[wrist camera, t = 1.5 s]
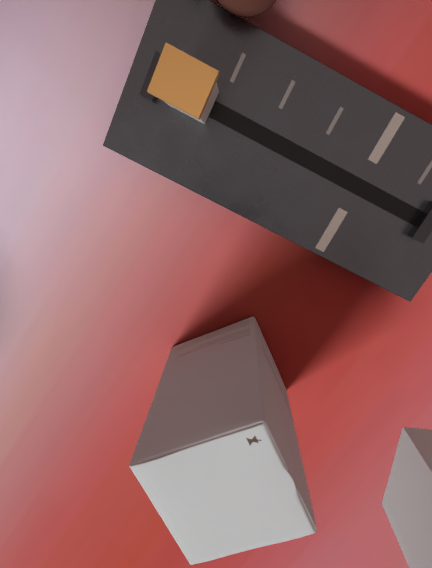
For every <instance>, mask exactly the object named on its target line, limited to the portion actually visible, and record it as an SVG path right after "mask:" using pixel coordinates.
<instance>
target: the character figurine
mask: <svg viewBox="0 0 432 568" xmlns="http://www.w3.org/2000/svg"><path fill="white" fill-rule="evenodd" d="M275 1H276V0H218V2H219V3H220V4H221V5H222V6H223V7H224V8H225V9H226V10H227V11H229V12H230V13H232V14H235V15H237V16H242V17H250V16H255V15H258V14H260V13H262V12H264V11H265V10H267V9H268V8H269V7H271V6H272V5H273V3H274V2H275Z"/></svg>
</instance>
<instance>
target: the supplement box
mask: <svg viewBox="0 0 432 568" xmlns="http://www.w3.org/2000/svg"><path fill="white" fill-rule="evenodd" d="M129 467H130V468H131V470H132V471H133V473H134V474H135V476H136V477H137V479H138V481H139V482H140V484H141V485H142V487H143V489H144V490H145V492H146V494H147V495H148V497H149V498H150V500H151V502H152V503H153V505H154V507H155V508H156V510H157V511H158V513H159V515H160V516H161V518H162V519H163V521H164V523H165V524H166V526H167V527H168V529H169V531H170V532H171V534H172V536H173V537H174V539H175V540H176V542H177V544H178V545H179V547H180V548H181V550H182V552H183V553H184V555H185V557H186V558H187V560H188V562H189V563H190V565H193V564H197V563H201V562H206V561H210V560H214V559H218V558H221V557H225V556H228V555H231V554H235V553H239V552H243V551H247V550H250V549H254V548H259V547H263V546H267V545H271V544H276V543H280V542H284V541H288V540H292V539H296V538H300V537H303V536H307V535H310V534H313V533H315V532H316V531H317V528H316V523H315V518H314V513H313V508H312V504H311V499H310V495H309V490H308V486H307V481H306V477H305V472H304V468H303V463H302V459H301V454H300V449H299V445H298V440H297V436H296V431H295V427H294V422H293V418H292V413H291V409H290V404H289V399H288V395H287V391H286V387H285V385H284V383H283V380H282V378H281V376H280V373H279V371H278V369H277V366H276V364H275V362H274V360H273V357H272V355H271V353H270V350H269V348H268V346H267V344H266V341H265V339H264V337H263V334H262V332H261V330H260V328H259V325H258V323H257V321H256V319H255V317H250V318H247V319H245V320H242V321H239V322H237V323H234V324H231V325H229V326H226V327H224V328H221V329H218V330H216V331H213V332H210V333H208V334H205V335H202V336H200V337H197V338H194V339H192V340H189V341H186V342H184V343H181V344H179V345H176V346H174V347H172V349H171V351H170V354H169V357H168V360H167V362H166V365H165V368H164V371H163V374H162V377H161V379H160V382H159V385H158V388H157V390H156V393H155V396H154V399H153V402H152V405H151V407H150V410H149V413H148V416H147V418H146V421H145V424H144V426H143V429H142V432H141V435H140V437H139V440H138V443H137V446H136V449H135V452H134V454H133V457H132V460H131V462H130V465H129Z"/></svg>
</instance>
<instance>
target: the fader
mask: <svg viewBox="0 0 432 568" xmlns="http://www.w3.org/2000/svg"><path fill="white" fill-rule="evenodd" d="M219 75H220V74H219V71H218V70H216V69H214V68H212V67H211V66H209V65H207V64H205V63H203V62H201V61H199V60H198V59H196V58H194V57H192V56H190V55H188V54H187V53H185V52H183V51H181V50H179V49H177V48H176V47H174V46H172V45H170V44H168V43H165V45H164V48H163V51H162V53H161V56H160V58H159V61H158V64H157V66H156V69H155V71H154V74H153V77H152V79H151V82H150V84H149V87H148V90H147V92H148V93H149V94H151V95H153V96H155V97H157V98H159V99H161V100H162V101H164V102H165V103H167V104H168V105H169V106H171V107H173V108H175V109H177V110H179V111H180V112H182V113H184V114H186V115H188V116H190V117H192V118H194V119H196V120H197V121H199V122H201V123H203V124H205V123H206V120H207V118H208V116H209V114H210V111H211V109H212V107H213V105H214V102H215V100H216V98H217V96H218V93H219V90H218V86H217V79H218V77H219Z"/></svg>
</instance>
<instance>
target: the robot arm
mask: <svg viewBox="0 0 432 568" xmlns="http://www.w3.org/2000/svg"><path fill="white" fill-rule="evenodd" d="M382 505H383V508H384V510H385V512H386V515H387V517H388V519H389V522H390V524H391V526H392V529H393V531H394V533H395V536H396V538H397V540H398V543H399V545H400V547H401V550H402V552H403V554H404V557H405V559H406V561H407V564H408V566H409V568H432V430H429V429H419V428H409V427H403V429H402V432H401V436H400V440H399V443H398V447H397V451H396V454H395V458H394V462H393V465H392V469H391V473H390V476H389V480H388V484H387V487H386V491H385V495H384V498H383V502H382Z"/></svg>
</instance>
